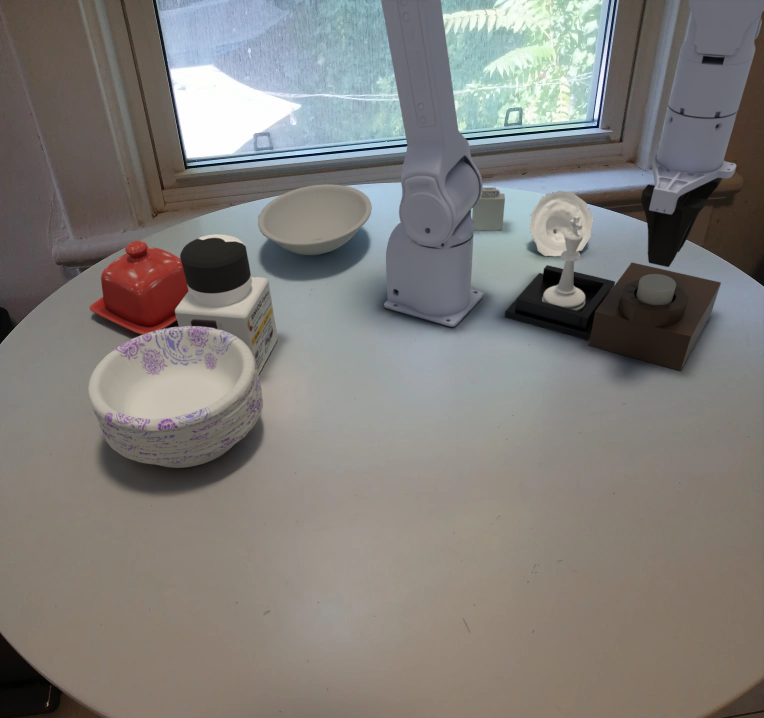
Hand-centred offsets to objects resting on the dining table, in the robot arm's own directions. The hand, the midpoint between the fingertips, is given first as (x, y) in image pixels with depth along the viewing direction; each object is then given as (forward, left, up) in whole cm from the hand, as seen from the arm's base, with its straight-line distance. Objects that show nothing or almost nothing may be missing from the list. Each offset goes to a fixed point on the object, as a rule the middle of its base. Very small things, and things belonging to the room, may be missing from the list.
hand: (664, 256), depth 73 cm
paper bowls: (-34, -36, -10) cm, 50 cm away
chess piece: (-10, +3, -10) cm, 14 cm away
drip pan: (-10, +3, -10) cm, 15 cm away
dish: (-44, +2, -10) cm, 46 cm away
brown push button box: (0, +3, -10) cm, 11 cm away
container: (-38, -23, -10) cm, 46 cm away
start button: (0, 0, -5) cm, 5 cm away
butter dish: (-54, -20, -10) cm, 58 cm away
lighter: (-28, +17, -10) cm, 35 cm away
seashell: (-16, +17, -10) cm, 26 cm away
